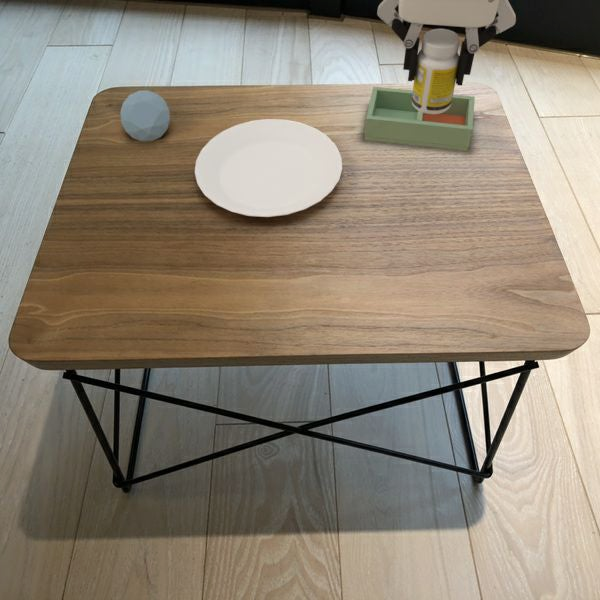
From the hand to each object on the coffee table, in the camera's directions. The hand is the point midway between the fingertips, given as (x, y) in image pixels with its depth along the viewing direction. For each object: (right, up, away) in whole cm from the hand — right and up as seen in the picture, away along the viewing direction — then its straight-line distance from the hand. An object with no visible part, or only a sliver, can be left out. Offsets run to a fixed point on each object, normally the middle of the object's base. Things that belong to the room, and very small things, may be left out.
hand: (435, 75), depth 71 cm
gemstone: (-39, 0, +25) cm, 46 cm away
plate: (-20, -8, +18) cm, 28 cm away
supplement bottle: (0, -3, +3) cm, 4 cm away
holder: (+2, 0, +23) cm, 23 cm away
